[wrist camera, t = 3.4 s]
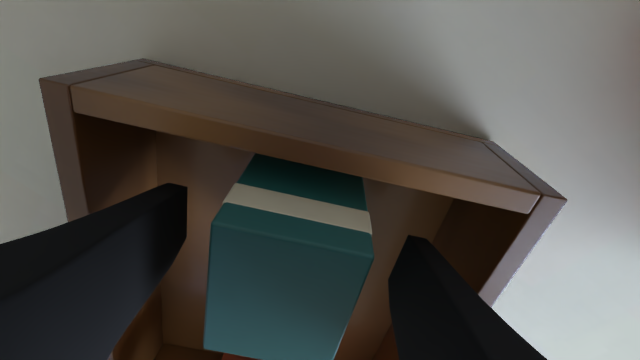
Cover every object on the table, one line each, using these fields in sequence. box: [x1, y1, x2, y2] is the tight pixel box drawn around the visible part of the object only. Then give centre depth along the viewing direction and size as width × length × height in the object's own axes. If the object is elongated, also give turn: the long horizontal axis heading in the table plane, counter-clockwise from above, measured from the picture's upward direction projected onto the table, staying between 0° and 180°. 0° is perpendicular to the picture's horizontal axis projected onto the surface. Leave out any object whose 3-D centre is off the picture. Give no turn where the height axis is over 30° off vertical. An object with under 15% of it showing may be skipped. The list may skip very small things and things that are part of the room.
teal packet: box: [203, 153, 375, 360], centre depth 10 cm, size 4×4×6 cm
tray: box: [39, 59, 567, 360], centre depth 13 cm, size 13×16×4 cm
